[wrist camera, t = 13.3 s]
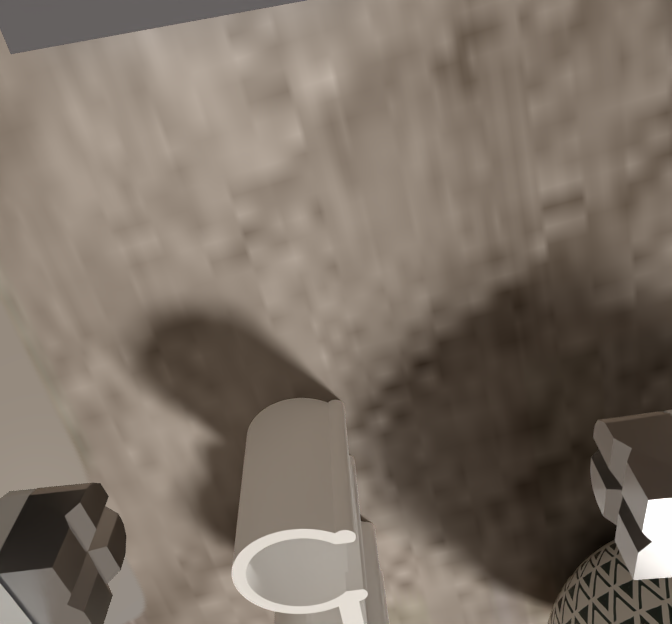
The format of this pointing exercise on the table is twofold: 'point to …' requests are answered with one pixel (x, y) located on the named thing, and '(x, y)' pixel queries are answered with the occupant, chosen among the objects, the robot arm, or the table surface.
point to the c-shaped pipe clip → (305, 520)
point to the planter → (611, 594)
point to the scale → (104, 18)
